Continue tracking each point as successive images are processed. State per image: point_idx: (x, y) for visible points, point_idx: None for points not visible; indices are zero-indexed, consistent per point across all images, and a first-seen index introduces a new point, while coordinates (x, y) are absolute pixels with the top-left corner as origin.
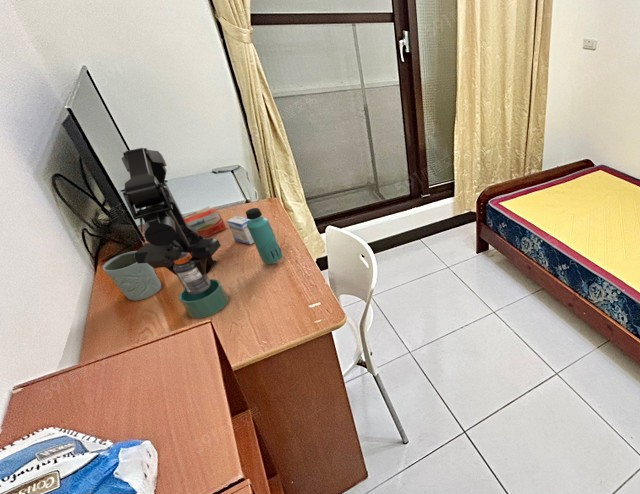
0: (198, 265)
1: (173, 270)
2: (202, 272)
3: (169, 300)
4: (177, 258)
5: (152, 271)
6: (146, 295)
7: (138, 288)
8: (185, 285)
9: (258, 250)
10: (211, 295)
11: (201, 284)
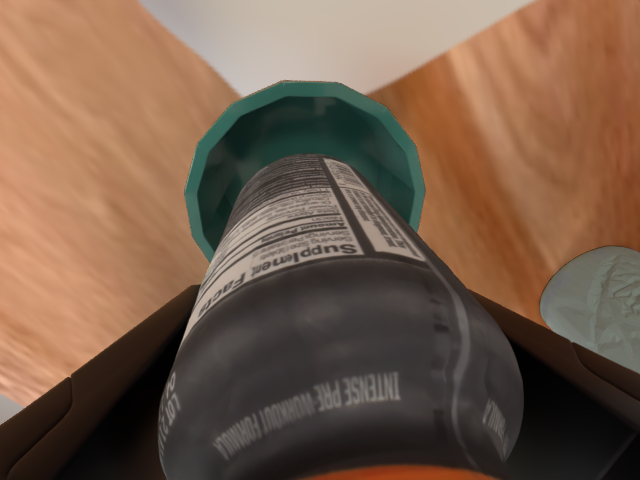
0: (60, 410)
1: (502, 331)
2: (167, 304)
3: (491, 233)
4: None
5: None
6: (584, 263)
7: (636, 283)
8: (348, 179)
9: None
10: (195, 150)
11: (237, 207)
